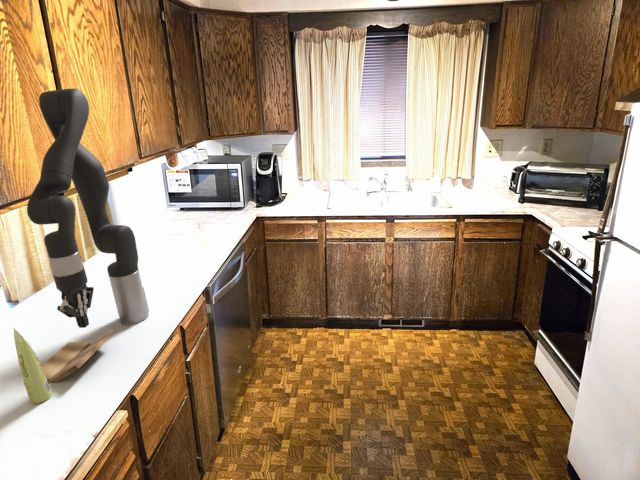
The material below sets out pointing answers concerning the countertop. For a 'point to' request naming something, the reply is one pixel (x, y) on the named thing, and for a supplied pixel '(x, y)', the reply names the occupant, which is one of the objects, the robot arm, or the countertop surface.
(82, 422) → the countertop surface
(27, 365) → the tube
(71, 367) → the plank
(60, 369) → the oak board
